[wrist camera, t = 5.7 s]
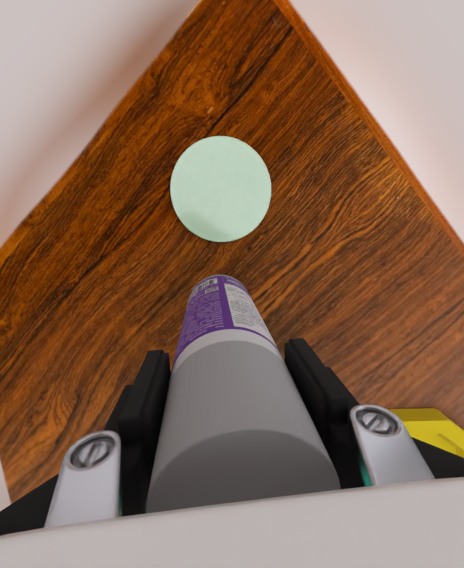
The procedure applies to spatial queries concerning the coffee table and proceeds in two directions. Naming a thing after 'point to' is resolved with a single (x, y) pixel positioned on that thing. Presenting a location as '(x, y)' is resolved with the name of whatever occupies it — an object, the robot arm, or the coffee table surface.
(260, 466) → the container
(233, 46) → the coffee table surface
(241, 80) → the coffee table surface
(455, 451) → the decorative disc
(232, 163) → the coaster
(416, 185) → the coffee table surface
